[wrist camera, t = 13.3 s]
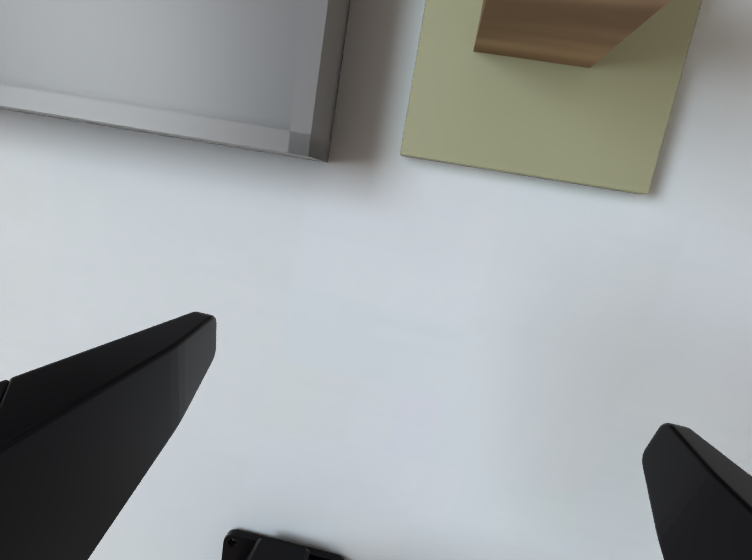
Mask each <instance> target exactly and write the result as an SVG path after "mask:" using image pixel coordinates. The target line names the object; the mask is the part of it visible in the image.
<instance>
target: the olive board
mask: <svg viewBox="0 0 752 560" xmlns="http://www.w3.org/2000/svg"><path fill="white" fill-rule="evenodd" d="M701 2H702V0H670V1H669V2H668V3H667V4H666V5H664V6H663V7H662V8H661V9H660V10H659V11H657V12H656V13H655V14H654V15H653V16H651V17H650V18H649V19H648V20H647V21H645V22H644V23H643V24H642V25H641V26H639V27H638V28H637V29H636V30H635V31H633V32H632V33H631V34H630V35H629V36H627V37H626V38H625V39H624V40H623V41H622V42H620V43H619V44H618V45H617V46H616V47H614V48H613V49H612V50H611V51H610V52H608V53H607V54H606V55H605V56H604V57H602V58H601V59H600V60H599V61H598V62H596V63H595V64H594V65H593V66H592V67H590V68H585V67H578V66H571V65H564V64H557V63H550V62H543V61H536V60H529V59H522V58H515V57H508V56H501V55H494V54H487V53H480V52H473V50H474V45H475V40H476V35H477V30H478V25H479V20H480V14H481V9H482V4H483V0H426V4H425V10H424V16H423V22H422V27H421V33H420V39H419V45H418V51H417V57H416V63H415V69H414V74H413V80H412V86H411V92H410V98H409V104H408V110H407V116H406V122H405V127H404V133H403V139H402V145H401V151H400V154H401V156H407V157H414V158H420V159H426V160H432V161H438V162H445V163H451V164H457V165H463V166H469V167H476V168H482V169H488V170H494V171H500V172H507V173H513V174H519V175H525V176H531V177H538V178H544V179H550V180H556V181H562V182H568V183H575V184H581V185H587V186H593V187H599V188H606V189H612V190H618V191H624V192H630V193H637V194H648V191H649V188H650V184H651V181H652V177H653V173H654V170H655V166H656V163H657V159H658V156H659V152H660V148H661V145H662V141H663V138H664V134H665V131H666V127H667V123H668V120H669V116H670V113H671V109H672V106H673V102H674V98H675V95H676V91H677V88H678V84H679V81H680V77H681V74H682V70H683V66H684V63H685V59H686V56H687V52H688V49H689V45H690V41H691V38H692V34H693V31H694V27H695V24H696V20H697V16H698V13H699V9H700V6H701Z"/></svg>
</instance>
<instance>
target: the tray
mask: <svg viewBox="0 0 752 560" xmlns="http://www.w3.org/2000/svg"><path fill="white" fill-rule="evenodd" d="M349 6H350V0H0V108H2V109H8V110H14V111H20V112H26V113H32V114H38V115H44V116H50V117H56V118H62V119H68V120H74V121H80V122H86V123H92V124H98V125H104V126H111V127H117V128H123V129H129V130H135V131H141V132H147V133H153V134H159V135H165V136H171V137H177V138H183V139H189V140H195V141H201V142H207V143H213V144H219V145H225V146H231V147H237V148H243V149H249V150H255V151H261V152H268V153H274V154H280V155H286V156H292V157H298V158H304V159H310V160H316V161H322V162H328V156H329V149H330V142H331V134H332V127H333V120H334V113H335V106H336V99H337V92H338V84H339V77H340V70H341V63H342V56H343V49H344V42H345V34H346V27H347V20H348V13H349Z"/></svg>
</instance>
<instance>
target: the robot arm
mask: <svg viewBox="0 0 752 560" xmlns="http://www.w3.org/2000/svg"><path fill="white" fill-rule="evenodd" d="M215 351H216V318H215V317H214V316H213V315H209V314H205V313H201V312H192V313H189V314H186V315H184V316H181V317H178V318H175V319H173V320H170V321H167V322H164V323H162V324H159V325H156V326H153V327H151V328H148V329H145V330H142V331H140V332H137V333H134V334H131V335H128V336H126V337H123V338H120V339H117V340H115V341H112V342H109V343H106V344H104V345H101V346H98V347H95V348H93V349H90V350H87V351H84V352H81V353H79V354H76V355H73V356H70V357H68V358H65V359H62V360H59V361H57V362H54V363H51V364H48V365H46V366H43V367H40V368H37V369H34V370H32V371H29V372H26V373H23V374H21V375H18V376H15V377H13V378H11V379H10V381H8V380H4V381H1V382H0V560H88V558H89V557H90V555H91V554H92V553H93V551H94V550H95V548H96V547H97V545H98V544H99V542H100V541H101V539H102V538H103V536H104V535H105V533H106V532H107V530H108V529H109V527H110V526H111V524H112V523H113V521H114V520H115V519H116V517H117V516H118V514H119V513H120V511H121V510H122V508H123V507H124V505H125V504H126V502H127V501H128V499H129V498H130V496H131V495H132V493H133V492H134V490H135V489H136V487H137V486H138V485H139V483H140V482H141V480H142V479H143V477H144V476H145V474H146V473H147V471H148V470H149V468H150V467H151V465H152V464H153V462H154V461H155V459H156V458H157V456H158V455H159V453H160V452H161V451H162V449H163V448H164V446H165V445H166V443H167V442H168V440H169V439H170V437H171V436H172V434H173V433H174V431H175V430H176V428H177V426H178V425H179V423H180V422H181V420H182V418H183V416H184V414H185V413H186V411H187V409H188V407H189V405H190V403H191V401H192V399H193V397H194V395H195V393H196V391H197V390H198V388H199V386H200V384H201V382H202V380H203V378H204V376H205V374H206V372H207V370H208V368H209V367H210V365H211V363H212V361H213V358H214V355H215ZM642 465H643V470H644V475H645V479H646V484H647V489H648V494H649V499H650V504H651V508H652V513H653V518H654V523H655V528H656V532H657V536H658V540H659V544H660V547H661V551H662V554H663V558H664V560H752V476H750V475H749V474H748V473H746V472H745V471H744V470H743V469H741V468H740V467H739V466H737V465H736V464H735V463H734V462H732V461H731V460H730V459H728V458H727V457H726V456H725V455H723V454H722V453H721V452H719V451H718V450H717V449H715V448H714V447H713V446H712V445H710V444H709V443H708V442H706V441H705V440H704V439H703V438H701V437H700V436H699V435H697V434H696V433H695V432H694V431H692V430H691V429H689V428H687V427H684V426H680V425H675V424H671V423H665V424H663V425H661V426H660V427H659V429H658V430H657V432H656V433H655V435H654V437H653V438H652V440H651V441H650V443H649V444H648V446H647V447H646V449H645V451H644V453H643V457H642ZM232 539H234V540H236V542H235V541H233V540H232ZM222 560H344V559H343V558H342V557H341V556H339V555H336V554H332V553H328V552H324V551H320V550H316V549H312V548H308V547H304V546H300V545H296V544H292V543H288V542H284V541H280V540H276V539H272V538H268V537H264V536H260V535H256V534H252V533H248V532H244V531H240V530H234V529H233V530H230V531H229V532H228V534H227V535H226V537H225V539H224V543H223V552H222Z"/></svg>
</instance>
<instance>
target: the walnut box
mask: <svg viewBox="0 0 752 560" xmlns="http://www.w3.org/2000/svg"><path fill="white" fill-rule="evenodd" d="M669 1H670V0H483V4H482V9H481V14H480V20H479V25H478V30H477V35H476V40H475V45H474V50H473V52H480V53H487V54H494V55H501V56H508V57H515V58H522V59H529V60H536V61H543V62H550V63H557V64H564V65H571V66H578V67H585V68H590V67H592V66H593V65H594V64H595V63H596V62H598V61H599V60H600V59H601V58H602V57H604V56H605V55H606V54H607V53H608V52H610V51H611V50H612V49H613V48H614V47H616V46H617V45H618V44H619V43H620V42H622V41H623V40H624V39H625V38H626V37H627V36H629V35H630V34H631V33H632V32H633V31H635V30H636V29H637V28H638V27H639V26H641V25H642V24H643V23H644V22H645V21H647V20H648V19H649V18H650V17H651V16H653V15H654V14H655V13H656V12H657V11H659V10H660V9H661V8H662V7H663V6H664V5H666V4H667V3H668V2H669Z"/></svg>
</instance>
